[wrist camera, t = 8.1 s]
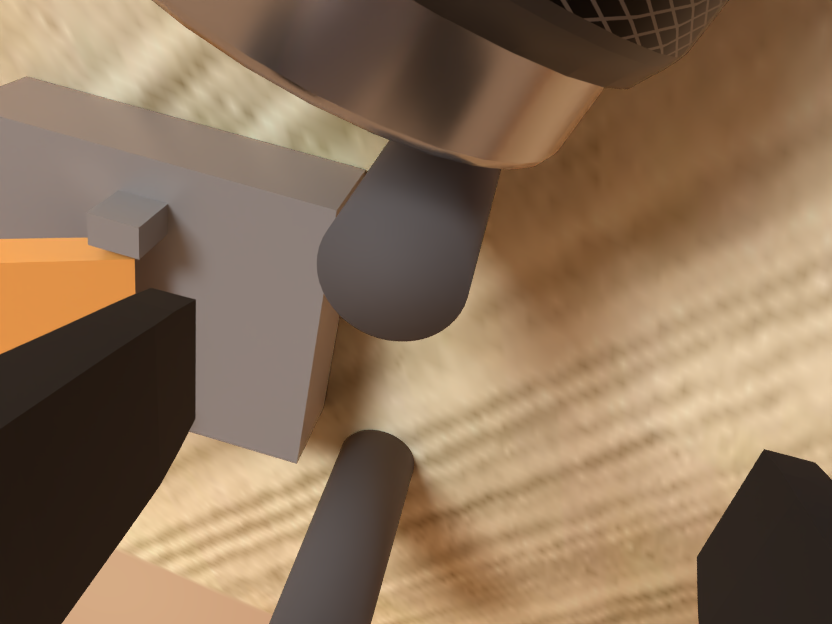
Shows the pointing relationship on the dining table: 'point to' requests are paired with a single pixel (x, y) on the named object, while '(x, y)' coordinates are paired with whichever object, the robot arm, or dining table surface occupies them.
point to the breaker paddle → (56, 285)
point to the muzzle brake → (454, 62)
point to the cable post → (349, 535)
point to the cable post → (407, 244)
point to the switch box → (192, 242)
